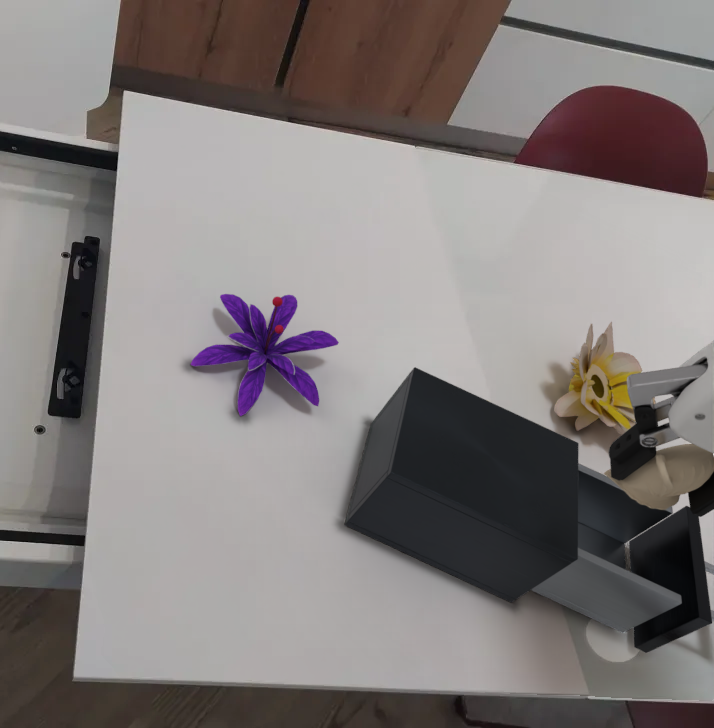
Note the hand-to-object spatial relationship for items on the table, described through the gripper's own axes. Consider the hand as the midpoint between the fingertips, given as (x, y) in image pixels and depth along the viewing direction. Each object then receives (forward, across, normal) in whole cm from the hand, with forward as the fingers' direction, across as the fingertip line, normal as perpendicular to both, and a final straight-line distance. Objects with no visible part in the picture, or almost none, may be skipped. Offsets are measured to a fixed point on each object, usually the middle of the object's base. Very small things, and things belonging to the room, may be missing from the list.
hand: (654, 481), depth 56 cm
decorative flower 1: (+18, -30, +11) cm, 36 cm away
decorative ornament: (+1, 0, 0) cm, 1 cm away
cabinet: (+18, -9, +3) cm, 20 cm away
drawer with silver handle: (+17, +8, +3) cm, 19 cm away
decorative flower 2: (+18, +7, +25) cm, 32 cm away
